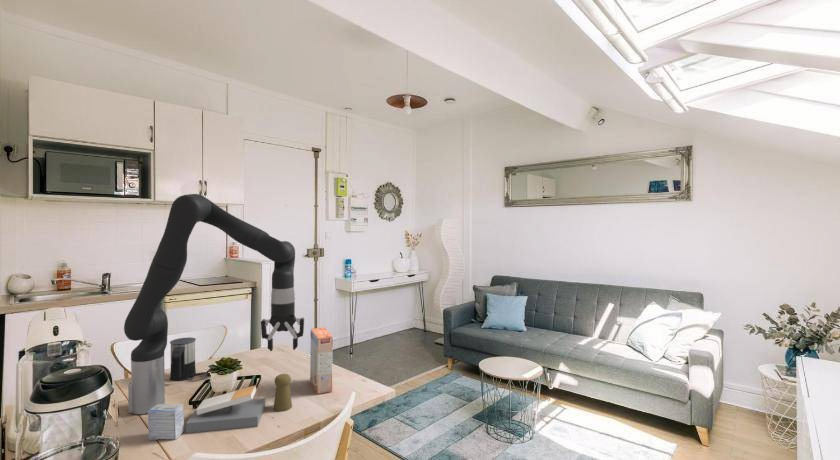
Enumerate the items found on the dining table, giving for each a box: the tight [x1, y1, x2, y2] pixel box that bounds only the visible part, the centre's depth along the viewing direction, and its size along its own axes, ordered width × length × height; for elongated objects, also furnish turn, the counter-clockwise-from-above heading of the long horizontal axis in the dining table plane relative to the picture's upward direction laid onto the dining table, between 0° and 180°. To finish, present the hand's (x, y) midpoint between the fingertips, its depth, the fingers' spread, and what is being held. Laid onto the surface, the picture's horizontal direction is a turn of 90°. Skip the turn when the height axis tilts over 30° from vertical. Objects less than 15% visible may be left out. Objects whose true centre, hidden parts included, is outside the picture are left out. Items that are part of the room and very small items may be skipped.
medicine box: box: [147, 403, 185, 441], centre depth 116 cm, size 8×4×9 cm, turn 92°
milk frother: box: [169, 336, 211, 382], centre depth 159 cm, size 14×16×15 cm
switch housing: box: [185, 397, 266, 434], centre depth 126 cm, size 20×13×5 cm, turn 102°
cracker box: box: [309, 327, 334, 395], centre depth 151 cm, size 14×6×21 cm, turn 25°
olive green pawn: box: [272, 373, 293, 413], centre depth 134 cm, size 6×6×11 cm
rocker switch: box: [195, 385, 257, 415], centre depth 125 cm, size 16×7×2 cm, turn 102°
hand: (282, 349), depth 133 cm, fingers open, 7 cm apart
